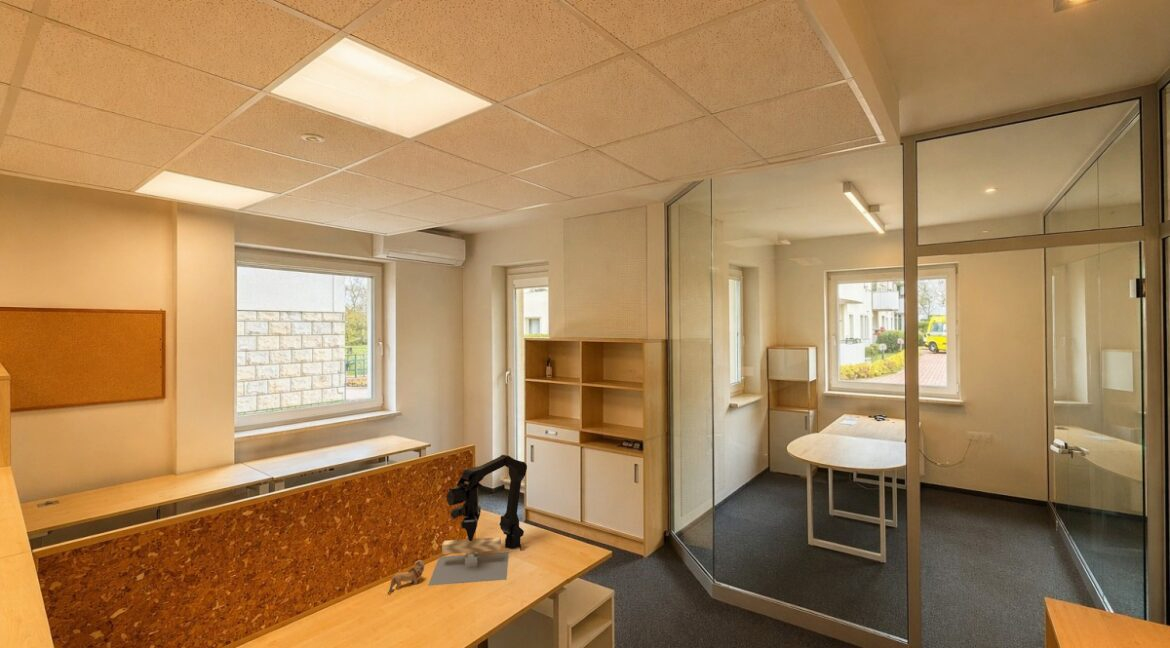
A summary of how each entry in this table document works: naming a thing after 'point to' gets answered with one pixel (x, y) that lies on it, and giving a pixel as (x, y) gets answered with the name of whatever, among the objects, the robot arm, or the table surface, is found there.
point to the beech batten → (471, 545)
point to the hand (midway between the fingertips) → (471, 536)
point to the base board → (470, 569)
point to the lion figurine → (408, 575)
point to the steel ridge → (471, 559)
